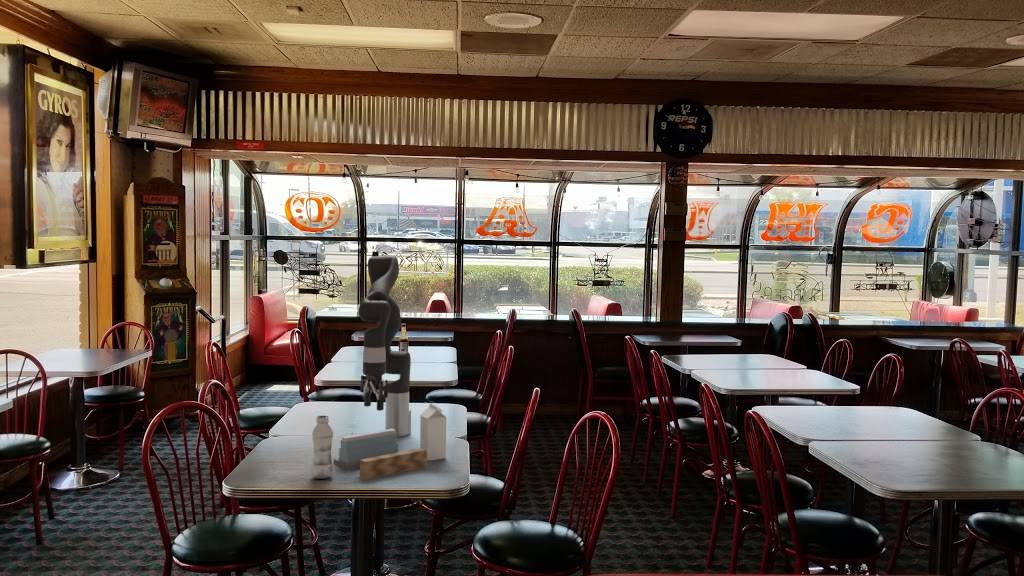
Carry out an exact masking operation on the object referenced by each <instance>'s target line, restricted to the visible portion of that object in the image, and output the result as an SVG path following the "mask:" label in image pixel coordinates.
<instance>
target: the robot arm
mask: <svg viewBox="0 0 1024 576" xmlns="http://www.w3.org/2000/svg"><path fill="white" fill-rule="evenodd" d="M367 272H368V273H367V274H368V278H369V281H370V287H369V290H368V294H367V295H366V296H365V298H363V300H362V301H361V302H360V304H359V306H358V317H359V318H360V320H361V321H363V322H371V323H373V322H376V325H377V326H376V327H373V328H372V327H371V328H368V329H366V330H364V333H363V352H362V375H360V391H359V392H360V393H362V394H363V404H364V405H363V406H364V407H365V408H366V407H368V408H369V407H371V405H372V395H371V394H372V392H373V394H375V396H376V411H378V412H380V411H383V410H384V407H385V429H384V430H387V429H394V430H396V434H397V438H399V437H400V438H401V437H406V436H408V435H410V434H412V410H411V409H410V382H411V381H410V379H411V363H412V362H411V360H412V359H411V358H412V357H411V354H410V352H408V351H406V350H404V351H403V350H392V348H391V344H392V342H393V341H394V338H395V337H396V335H397V334H398V332H399V331H400V328H401V326H402V316H401V309H400V306H399V304H398V303H397V302H396V300H395V299H393V298H392V297H391V295H390V293H391V290H392V289H393V286H394V285H395V283H396V282H397V280H398V277H399V274H400V273H399V272H400V265H399V260H398V258H397V257H396V256H395V255H375V256H374V255H373V256H369V258H368V260H367ZM385 374H388V375H399V379H397V380H395V381H391V382H389V381H388V380H387V379H383V375H385Z"/></svg>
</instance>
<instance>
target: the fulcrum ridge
mask: <svg viewBox="0 0 1024 576" xmlns="http://www.w3.org/2000/svg"><path fill="white" fill-rule="evenodd" d="M338 451H339V453H338V457H337V458H335V457H334V458H333V464H335V465H337V466H338V467H341V468H343V469H345V470H347V469H348V470H349V469H350V470H353V468H355V469H360V468H359V467H360V460H361V459H366V458H372V457H377V456H382V455H387V454H392V453H398V452H399V442H398V437H397V434H396V430H394V429H387V430H385V429H383V430H382V429H381V430H376V431H372V432H371V431H370V432H363V433H358V434H352V435H347V436H341V439H340V447H339V450H338ZM350 470H349V471H350Z"/></svg>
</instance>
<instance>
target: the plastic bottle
mask: <svg viewBox="0 0 1024 576" xmlns="http://www.w3.org/2000/svg"><path fill="white" fill-rule="evenodd" d="M315 423H316V425H315V427H314V428H313V430H312V432H311V434H312V435H311V436H312V443H313V458H312V465H311V475H312V477H313V478H314V479H316V480H317V479H318V480H319V479H320V480H321V479H322V480H323V479H328V478H330V477H331V476H332V475H333V470H334V469H333V463H332V444H333V436H334V431H333V429H332V427H331V426H330V425H329V423H330V421H329V416H328V415H317V416H316V422H315Z"/></svg>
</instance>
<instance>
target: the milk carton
mask: <svg viewBox="0 0 1024 576" xmlns="http://www.w3.org/2000/svg"><path fill="white" fill-rule="evenodd" d="M442 412H443V410H442V408H440V407H438V406H437V405H435V404H433V403H431V402H429V406H428V407H427V408H426V409H425V410H424V411H423V412H422V413H421V414H420V419H419V420H420V427H419V428H420V432H419V433H420V434H419V436H420V437H419V438H420V441H419V442H420V443H419V445H420V447H419V448H423V449H425V450H427V461H426V462H429V461H436V460H437V461H438V460H446V458H447V416H446V415H445V414H443V413H442Z"/></svg>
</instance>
